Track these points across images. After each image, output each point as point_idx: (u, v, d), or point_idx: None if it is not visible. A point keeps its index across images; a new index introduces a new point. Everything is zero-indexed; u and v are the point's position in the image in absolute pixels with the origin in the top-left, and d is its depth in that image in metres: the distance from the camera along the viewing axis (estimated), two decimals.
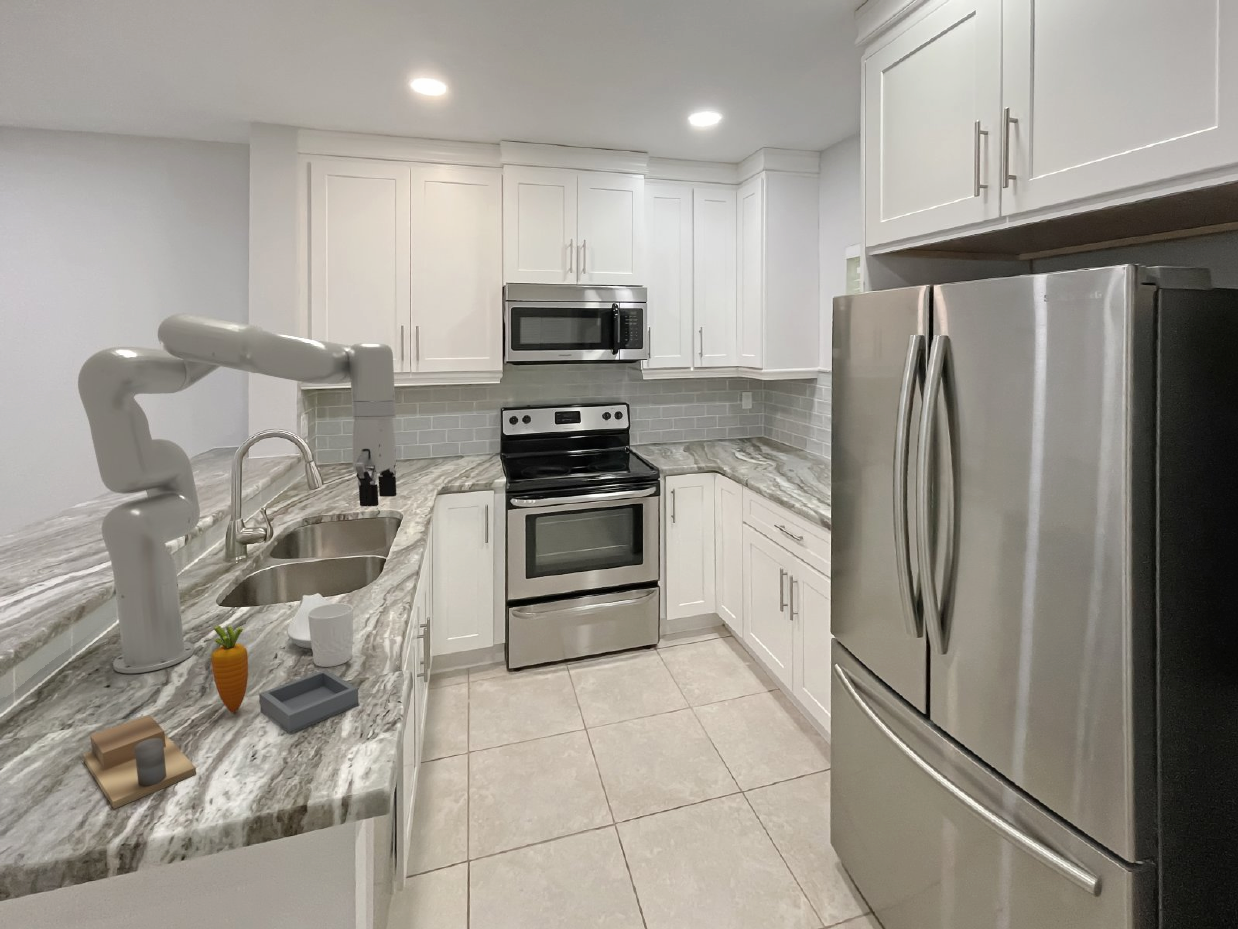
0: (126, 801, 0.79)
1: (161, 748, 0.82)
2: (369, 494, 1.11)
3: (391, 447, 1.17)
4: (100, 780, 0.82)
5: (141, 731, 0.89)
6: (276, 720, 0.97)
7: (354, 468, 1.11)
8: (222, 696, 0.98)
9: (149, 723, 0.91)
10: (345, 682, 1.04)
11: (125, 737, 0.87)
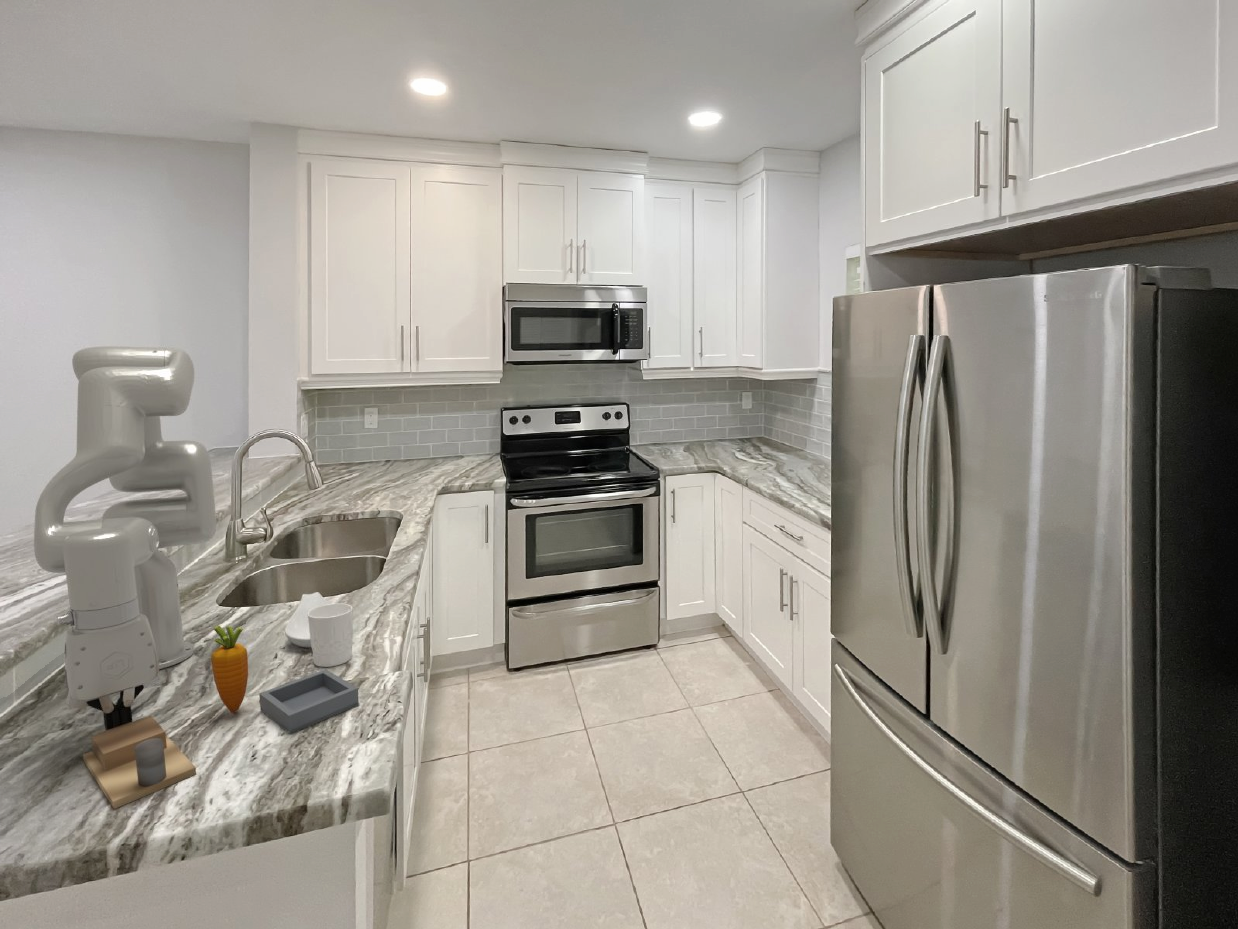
0: (126, 801, 0.79)
1: (161, 748, 0.82)
2: None
3: None
4: (100, 780, 0.82)
5: (142, 731, 0.89)
6: (276, 720, 0.97)
7: (158, 672, 0.93)
8: (222, 696, 0.98)
9: (150, 724, 0.91)
10: (345, 682, 1.04)
11: (126, 737, 0.87)
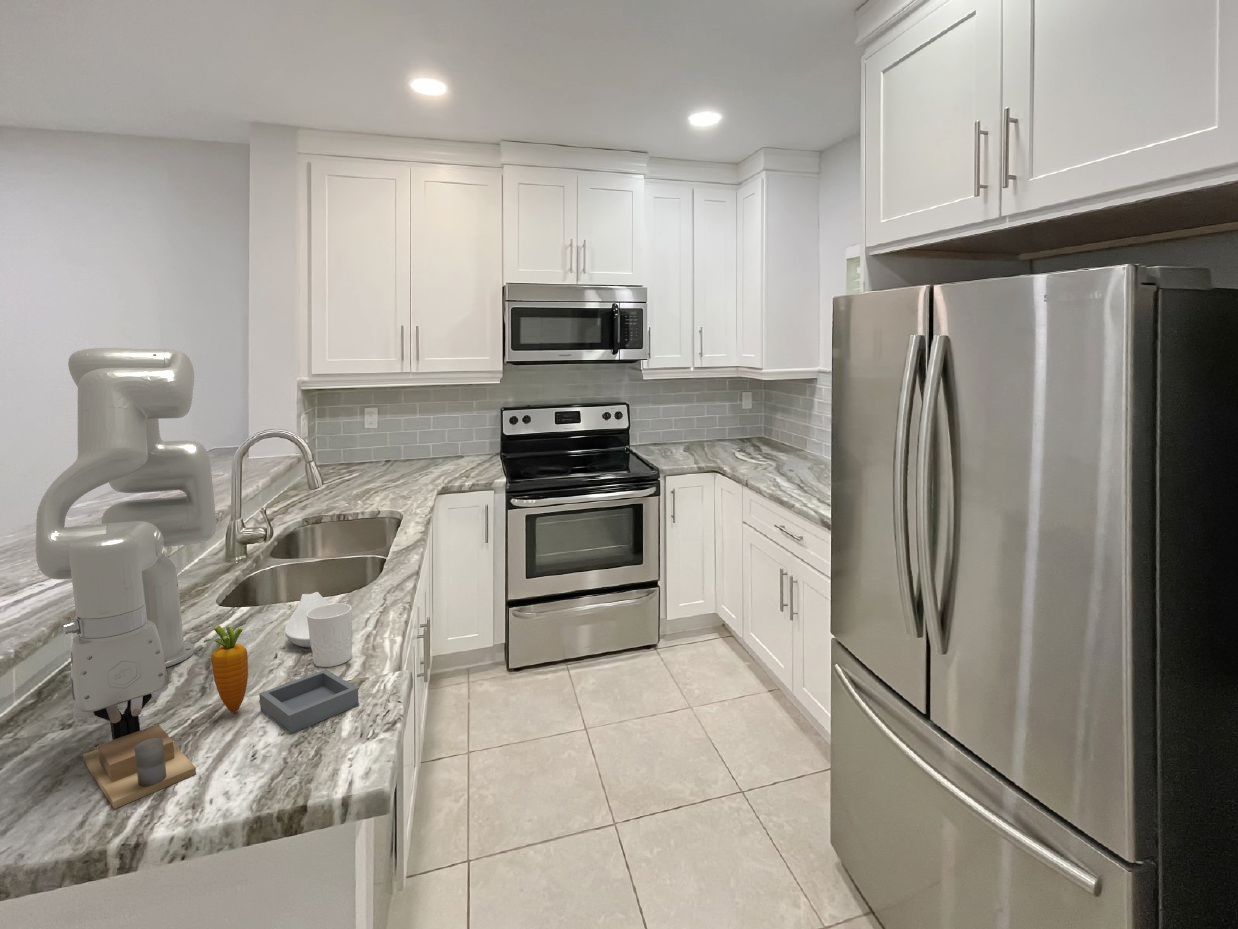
0: (126, 801, 0.79)
1: (161, 748, 0.82)
2: None
3: None
4: (100, 780, 0.82)
5: None
6: (276, 720, 0.97)
7: (166, 681, 0.90)
8: (222, 696, 0.98)
9: (158, 734, 0.88)
10: (345, 682, 1.04)
11: (133, 747, 0.85)
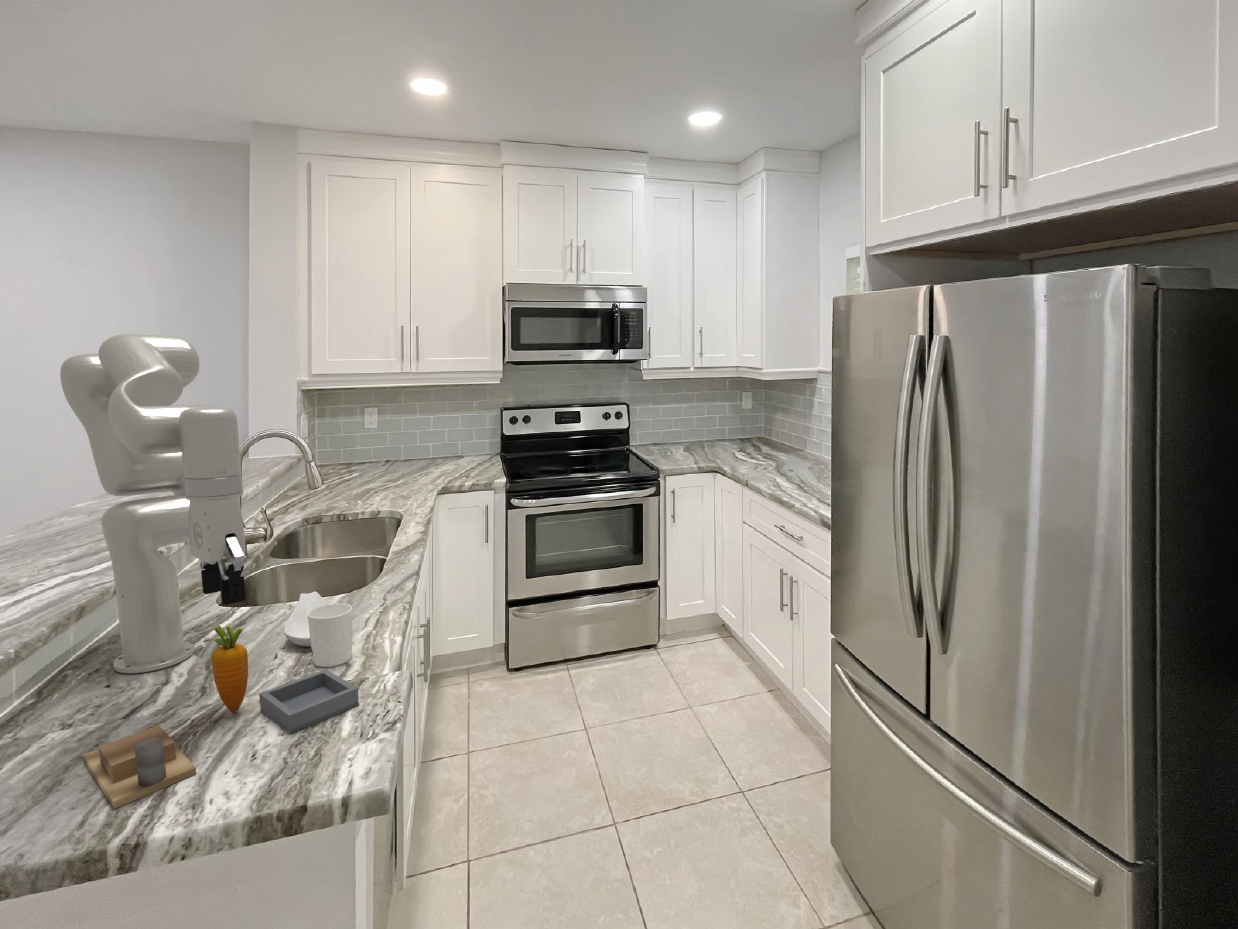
0: (126, 801, 0.79)
1: (161, 748, 0.82)
2: (238, 588, 0.95)
3: None
4: (100, 780, 0.82)
5: None
6: (276, 720, 0.97)
7: (215, 559, 0.92)
8: (222, 696, 0.98)
9: (159, 734, 0.88)
10: (345, 682, 1.04)
11: None
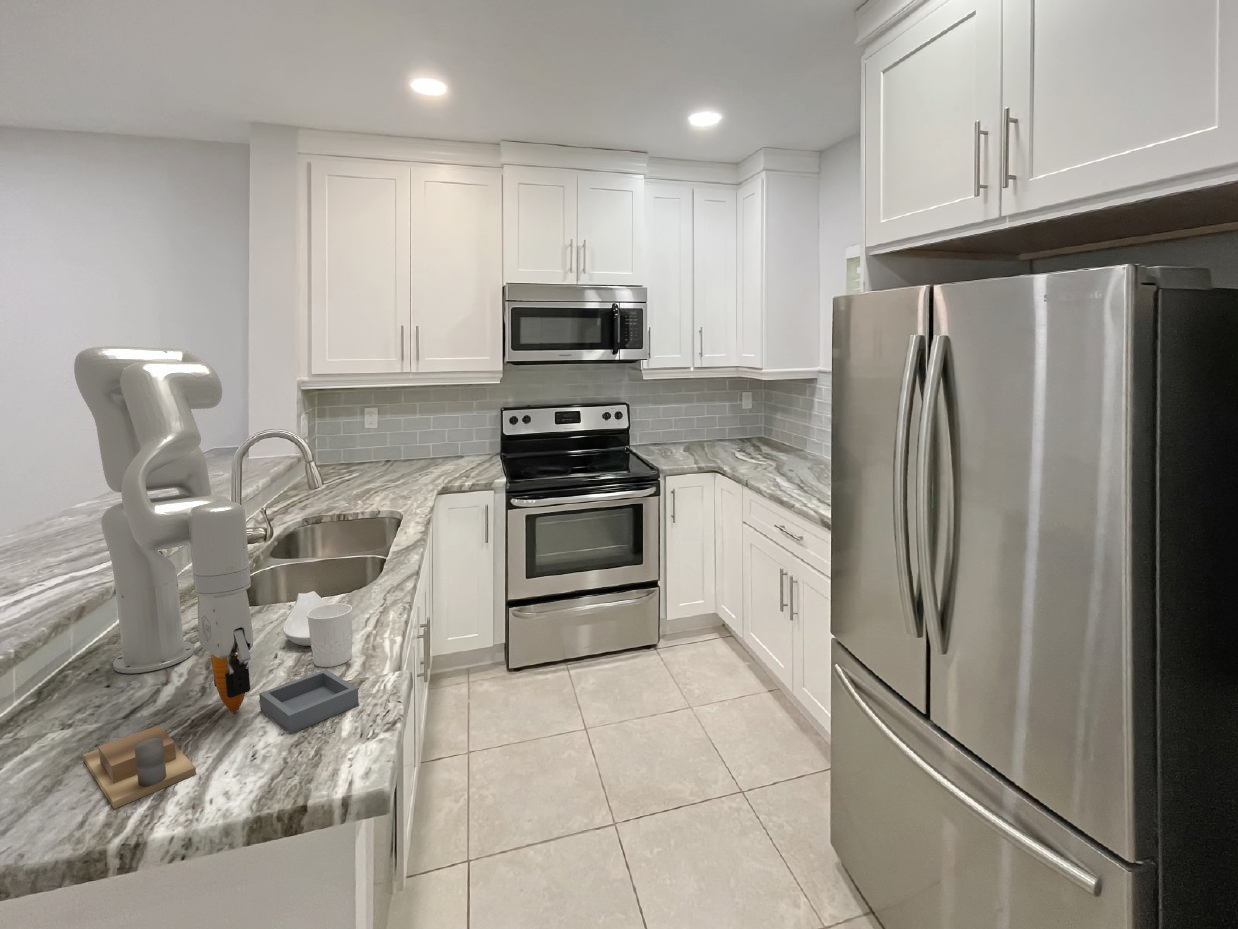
0: (126, 801, 0.79)
1: (161, 748, 0.82)
2: (243, 681, 0.98)
3: None
4: (100, 780, 0.82)
5: None
6: (276, 720, 0.97)
7: (223, 654, 0.94)
8: (222, 696, 0.98)
9: (159, 734, 0.88)
10: (345, 682, 1.04)
11: None
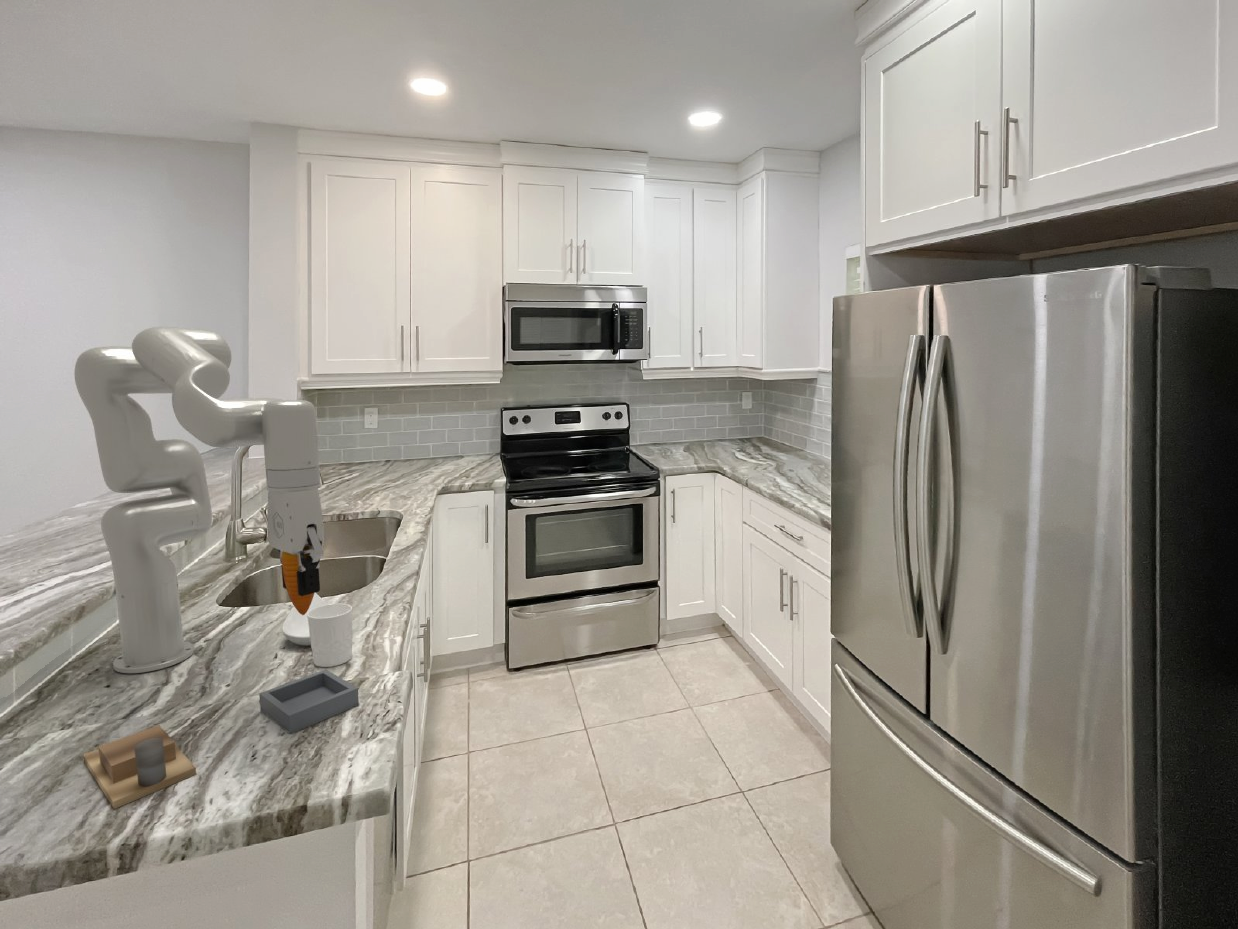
0: (126, 801, 0.79)
1: (161, 748, 0.82)
2: (314, 579, 0.97)
3: None
4: (100, 780, 0.82)
5: None
6: (276, 720, 0.97)
7: (297, 549, 0.94)
8: (292, 595, 0.98)
9: (159, 734, 0.88)
10: (345, 682, 1.04)
11: None
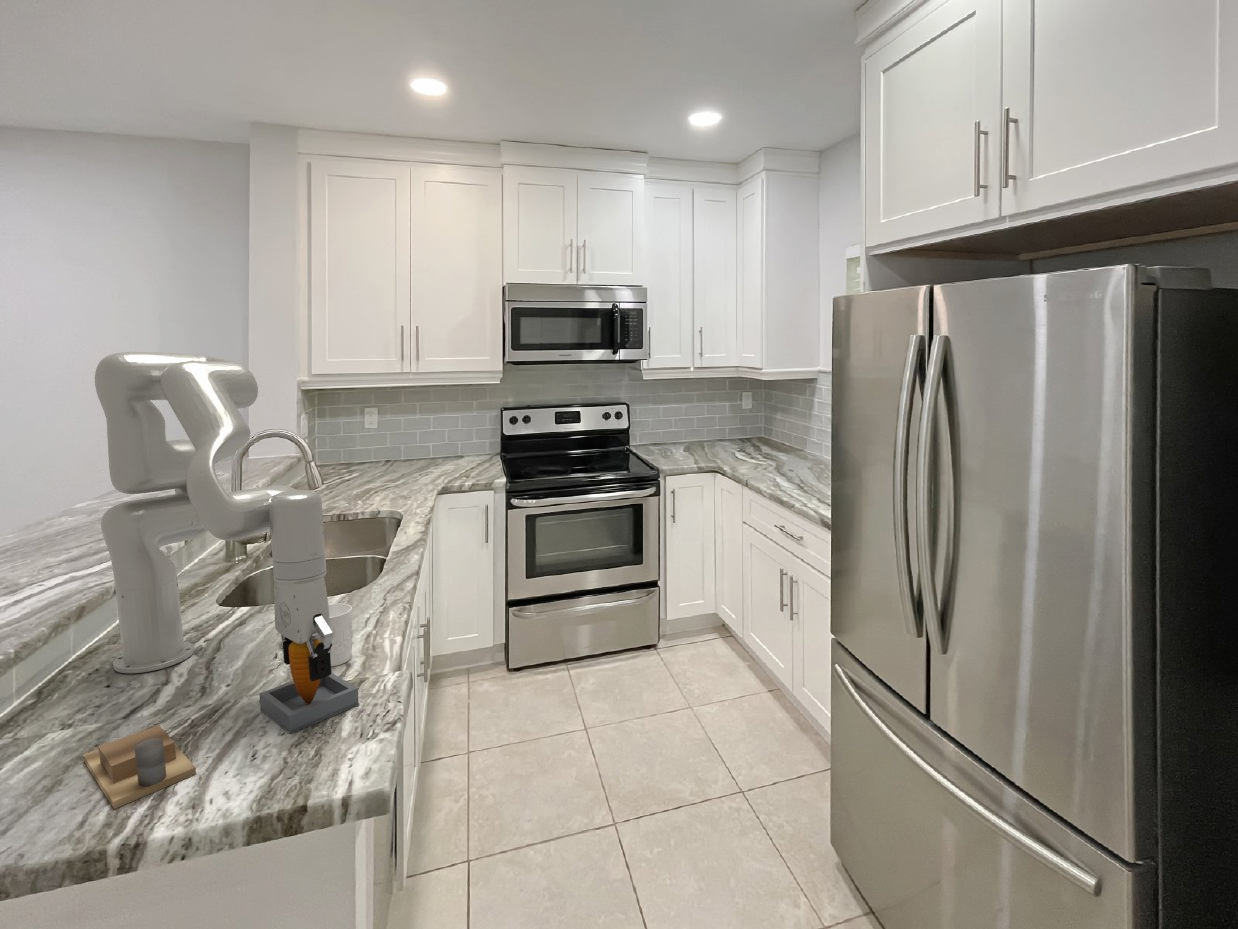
0: (126, 801, 0.79)
1: (161, 748, 0.82)
2: (326, 664, 0.98)
3: None
4: (100, 780, 0.82)
5: None
6: (276, 720, 0.97)
7: (303, 640, 0.95)
8: (299, 687, 1.00)
9: (159, 734, 0.88)
10: (345, 682, 1.04)
11: None
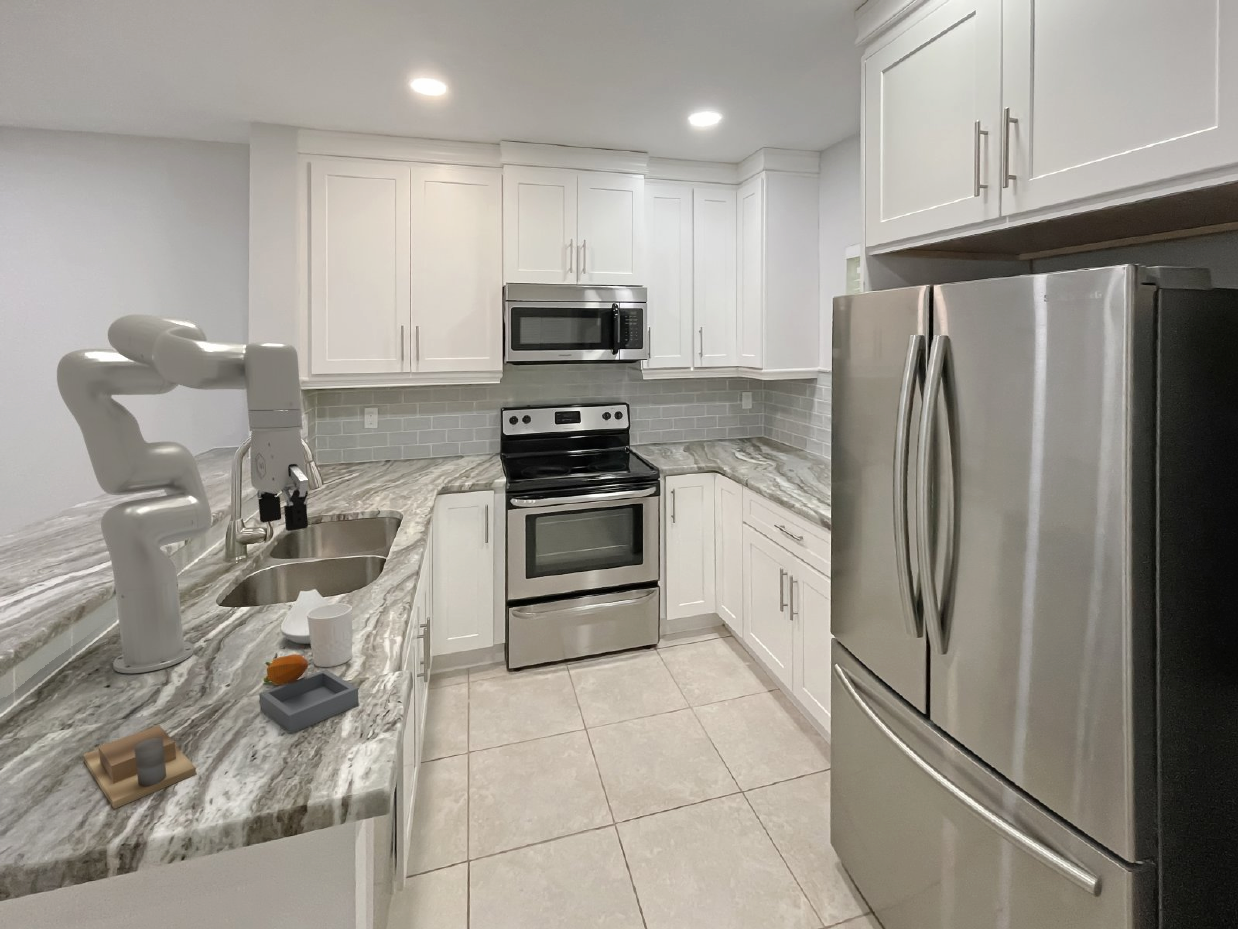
0: (126, 801, 0.79)
1: (161, 748, 0.82)
2: (302, 515, 0.98)
3: None
4: (100, 780, 0.82)
5: None
6: (276, 720, 0.97)
7: (278, 488, 0.95)
8: (284, 664, 1.04)
9: (159, 734, 0.88)
10: (345, 682, 1.04)
11: None
